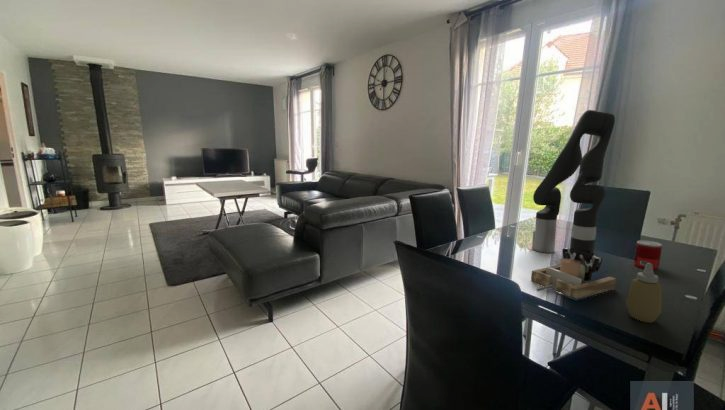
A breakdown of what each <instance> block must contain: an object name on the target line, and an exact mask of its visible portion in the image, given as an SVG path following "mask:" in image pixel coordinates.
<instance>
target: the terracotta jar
mask: <svg viewBox="0 0 725 410" xmlns="http://www.w3.org/2000/svg"><path fill="white" fill-rule="evenodd" d="M560 264H561V267H560V271H562V272H564V273H567V274H570V275H572V276H575V277H578V278H579V268H580V262H579V261H577V260H573V259H563V258H561V259H560Z"/></svg>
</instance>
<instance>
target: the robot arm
mask: <svg viewBox="0 0 725 410" xmlns="http://www.w3.org/2000/svg"><path fill="white" fill-rule="evenodd" d="M615 123H616V118H615V115H614V113H610V112H605V111H599V110H594V109H587V110H585V111H584V112H583V113H582V114H581V116H580V117H579V119H578V121H577V123H576V124H575V126H574V129H573V130H572V132H571V135H570V136H569V138H568V140H567V141H566V144H565V146H564V147H563V148H562V150H561V152H560V153H559V155H558V156H557V158H556V160H555V161H554V163H553V164H552V166H551V167H550V168H549V169H550V170H549V171H548V173H547V174H546V175H545V177H544V179H543V180H542V181H541V182H540V183H539V185H538V186H537V188H536V189H535V190H534V193H533V197H532V198H533V203H535V204H536V205H537V206H544V207H543V208H542V209H540V210H537V212H536V214H535V225H534V226H535V227H534V228H535V229H534V230H533V231H532V245H531V249H532V250H534V251H536V252H540V253H545V254H546V253H547V254H551V253H554V252H555V248H556V235H557V223H558V216H559V214H560V209H561V202H562V193H561V192H562V191H561V190H560V188H559V187H557V186H558V185H560V184H561V183H563V182H564V181H566V180H568V179H569V178H571V177H572V176H573V175H574V174H575V173H576V171H577V170H578V168H579V171H578V176H577V178H576V181H575V183H574V184H573V186H572V188H571V190H570V193H569V198H570V200H571V201H572V203H576V204H589V205H591V206H590V207H587V208H579V209H576V210H575V211H574V214H573V220H572V221H573V224H572V228H571V237H570V243H569V244H570V248H569V247H565V248H562V250H561V251H562V259H573V260H574V259H575V260H578V261H581V262H582V264H583V266H585V271H586V272H585V277H584V281H588V282H590V281H591V280H592V277H593V275H592V274H593V273H596V272H599V270H600V267H601V264H602V262H603V258H602V257H598V256H596V255H595V253H594V251H595V247H596V239H597V238H596V237H597V221H598V220H597V219H598V214H599V211H600V208H601V206H602V204H603V203H604V201H605V198H606V194H607V191H606V188H605V187H604V186H602V185H599V184H598V185H597V184H595V185H594V184H591V183H597V182H599V181H600V180H601V178H602V176H603V167H604V159H605V156H606V153H607V149H608V147H609V143H610V140H611V136H612V133H613V130H614V127H615ZM584 135H590V136H594V137H595V136H596V137H598V138H597V141H596V143H595V144H594V145H593V146H592V147H591V148H590V149H589V150H587V151H586V153H585V154H584V155H583V154H582V149H581V139H582V137H583V136H584ZM586 262H588V264H587V263H586ZM588 266H589V267H588Z"/></svg>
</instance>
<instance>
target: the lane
mask: <svg viewBox="0 0 725 410" xmlns="http://www.w3.org/2000/svg"><path fill="white" fill-rule="evenodd" d="M549 267H551V268H554V269H557V270H559V271H560V267H561V263H559V264H555V265H552V266H551V265H550V266H549ZM530 278H531V279H530V281H531V282H532V283H534V284H537V285H538V284H539V286H541V285H542V286H541V287H543V286H544V287H545V286H549V285H551V283H550V282H551V276H549V275H547V274H546V267H542V268H538V269H533V270H531V277H530ZM616 282H617V279H616V277H612V276H607V277H603V278H599V279H597V280H592V281H588V283H584V284H581V285H577V286H573V285H571V284H569V283H567V282H564V281H562V280H559V279H558V280H557V281H556V287H555V292H556V291H558V292H561V293H563V294H566V295H568V296H571V297H574V298H576V299H577V298H583V297H587V296H590V295H594V294H597V293H601V292H603V291H608V290H611V289H615V288H616Z"/></svg>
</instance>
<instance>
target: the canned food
mask: <svg viewBox="0 0 725 410" xmlns="http://www.w3.org/2000/svg"><path fill="white" fill-rule="evenodd" d="M662 248H663V244H662V243H661V242H657V241H652V240H646V239H645V240H644V239H642V240H641V239H640V240H637V241H636V245H635V253H634V258H633V259H634V260H633V265H634V266H635V267H637V268H638V267H639V268H638V269H642V270H644V268H645V266H646V264H647V263H651V264H652V266H653V271H655V270H658V269H659V267H660V261H661V255H662Z"/></svg>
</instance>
